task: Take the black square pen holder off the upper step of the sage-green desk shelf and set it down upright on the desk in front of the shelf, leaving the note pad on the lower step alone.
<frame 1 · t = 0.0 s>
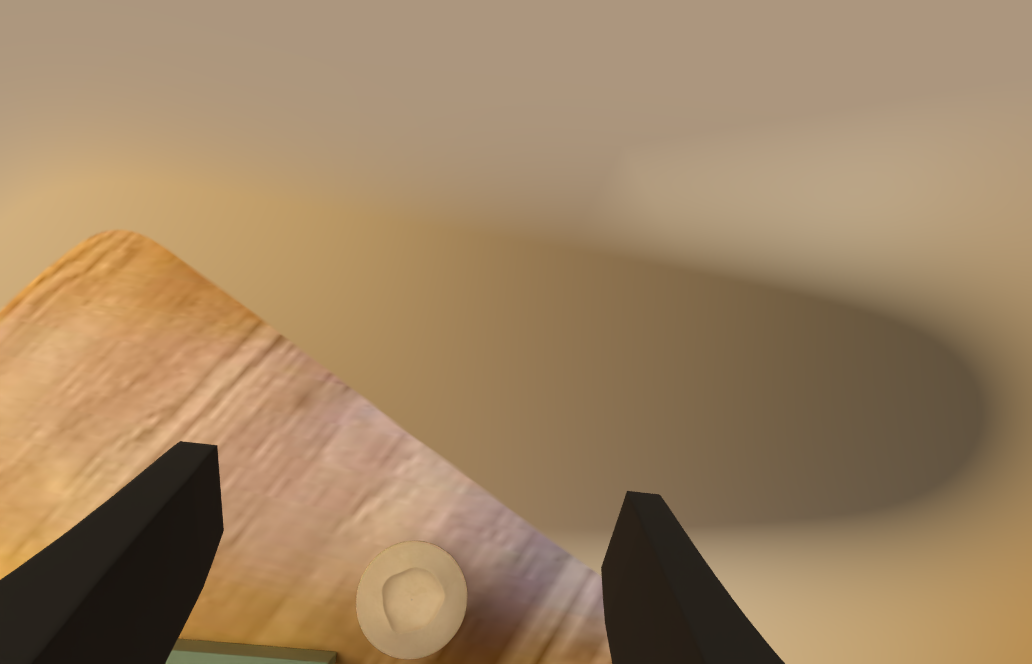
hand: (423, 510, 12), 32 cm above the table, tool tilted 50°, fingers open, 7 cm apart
candle: (413, 589, 41), on the table
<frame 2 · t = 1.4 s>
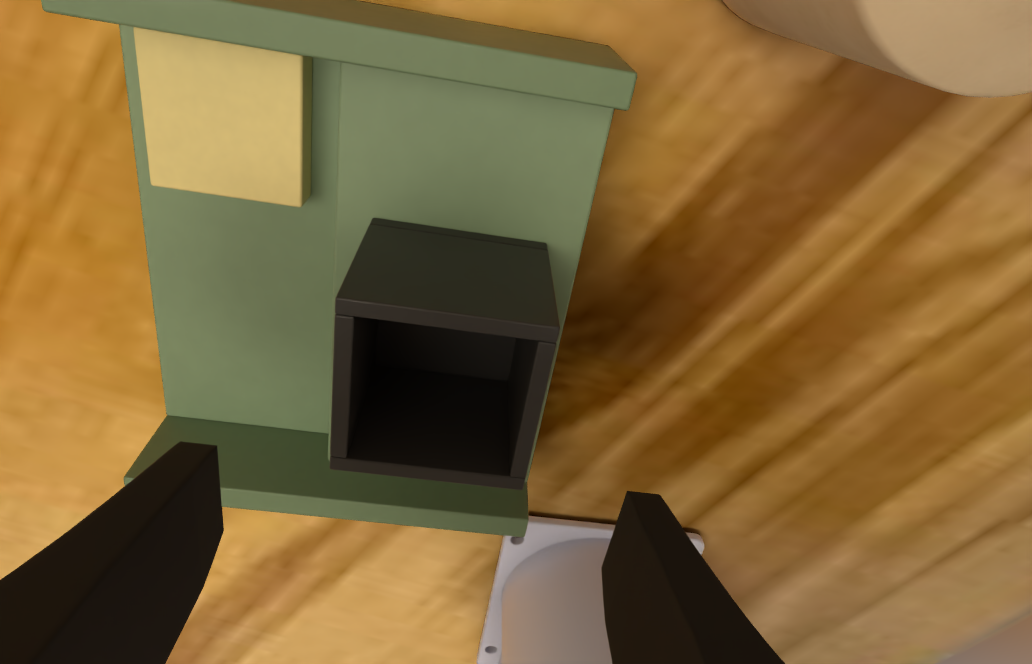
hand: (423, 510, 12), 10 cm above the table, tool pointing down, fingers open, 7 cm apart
note pad: (236, 114, 17), point 1 cm above the table, touching shelf
holder: (450, 306, 19), point 3 cm above the table, touching shelf
shelf: (367, 254, 20), on the table
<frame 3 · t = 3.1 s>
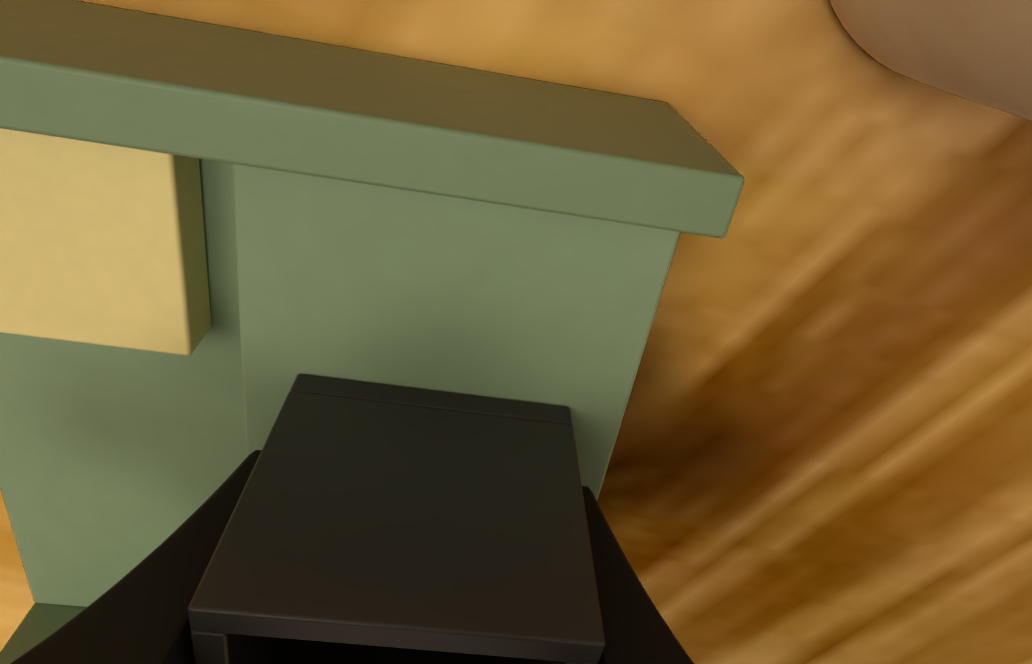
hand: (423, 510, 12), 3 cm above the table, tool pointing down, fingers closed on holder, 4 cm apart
note pad: (85, 212, 11), point 1 cm above the table, touching shelf
holder: (423, 489, 12), point 3 cm above the table, touching gripper, shelf
shelf: (309, 389, 14), on the table
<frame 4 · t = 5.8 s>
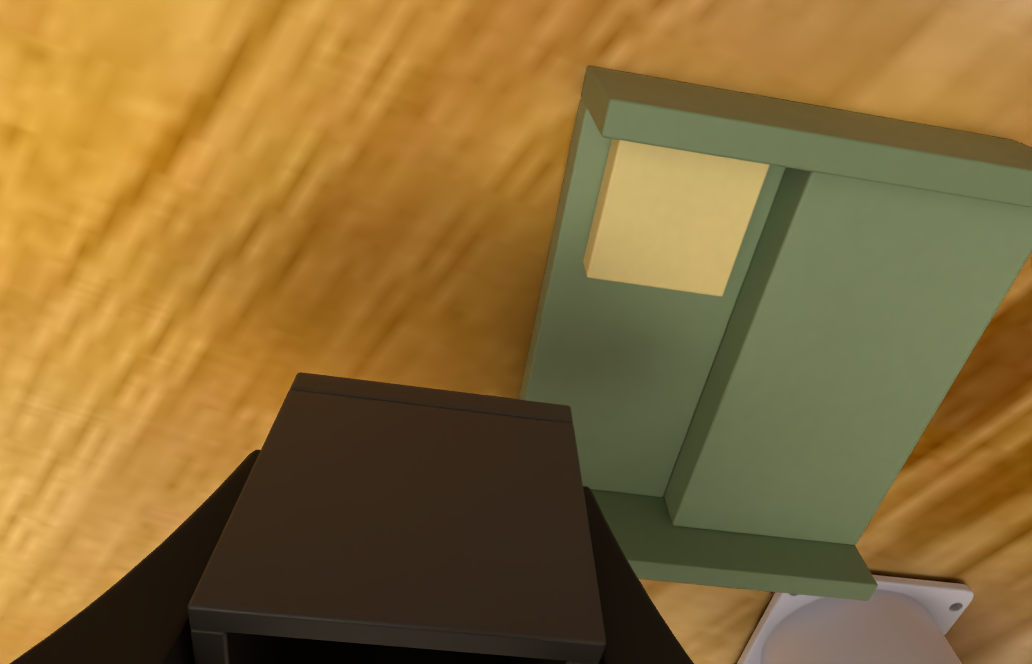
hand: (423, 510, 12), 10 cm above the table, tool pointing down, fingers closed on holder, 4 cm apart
note pad: (666, 208, 18), point 1 cm above the table, touching shelf
holder: (424, 488, 12), point 9 cm above the table, touching gripper
shelf: (723, 328, 21), on the table
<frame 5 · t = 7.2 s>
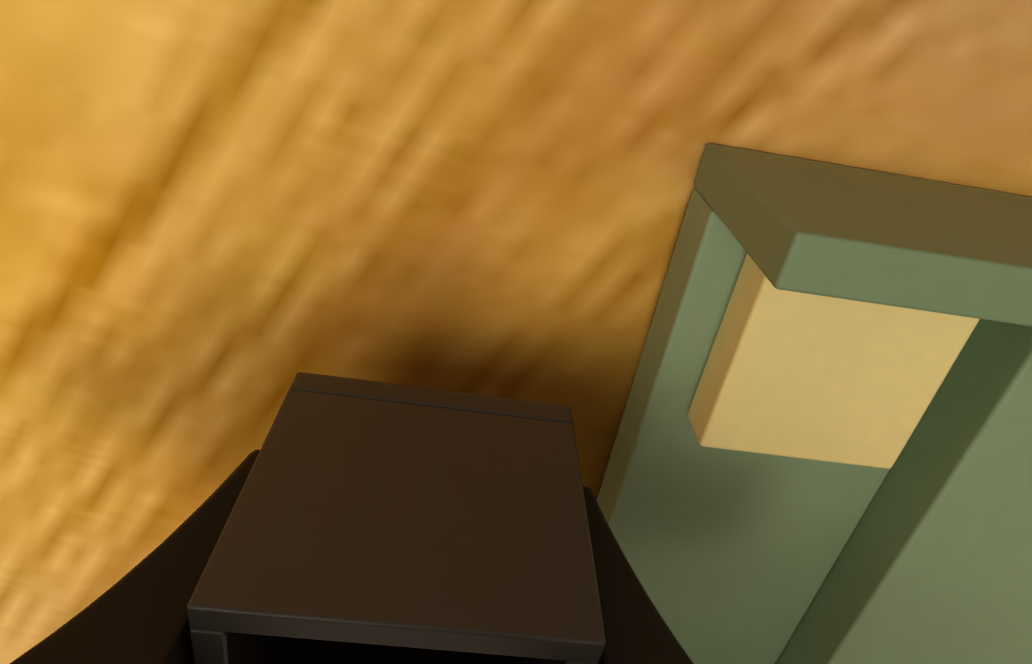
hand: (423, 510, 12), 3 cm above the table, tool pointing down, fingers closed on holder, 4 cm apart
note pad: (814, 345, 12), point 1 cm above the table, touching shelf
holder: (423, 488, 12), point 2 cm above the table, touching gripper
shelf: (858, 477, 16), on the table
when the fingers open (0 cm above the table, at t = 8.5 s): holder stays where it is, on the table.
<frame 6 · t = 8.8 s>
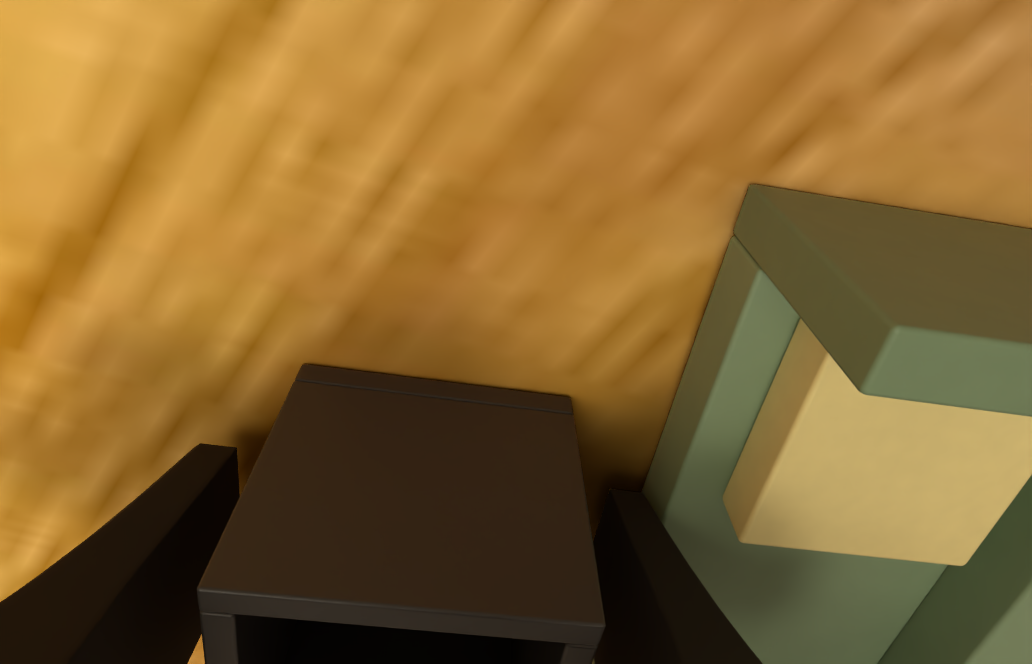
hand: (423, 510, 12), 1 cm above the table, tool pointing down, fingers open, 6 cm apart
note pad: (875, 421, 10), point 1 cm above the table, touching shelf
holder: (426, 479, 12), on the table
shelf: (910, 553, 14), on the table
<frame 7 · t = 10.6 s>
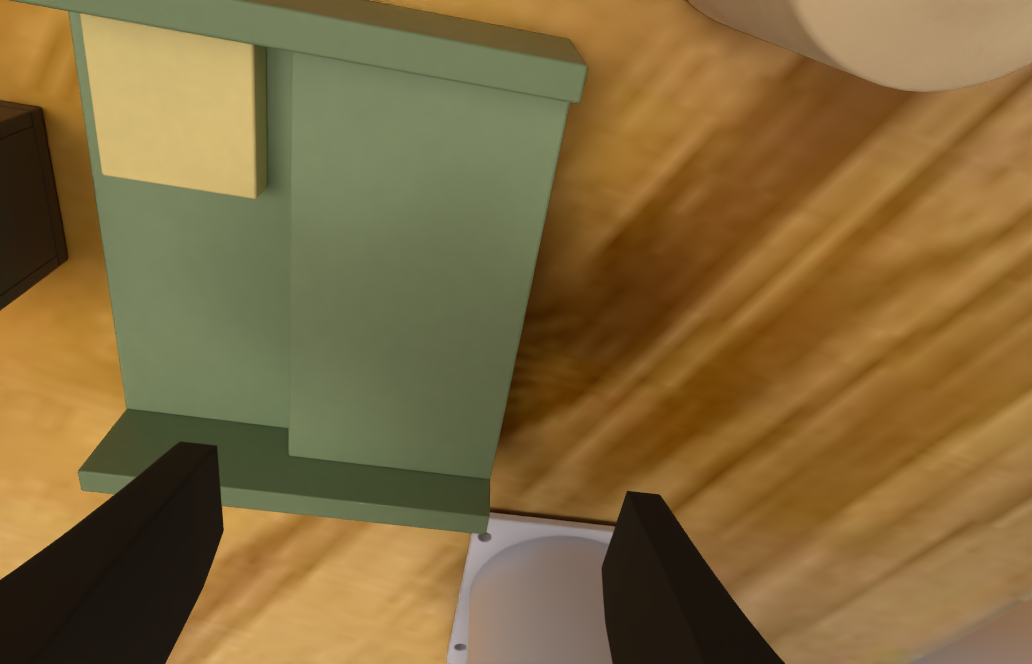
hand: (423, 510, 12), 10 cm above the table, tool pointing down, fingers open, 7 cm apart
note pad: (190, 103, 17), point 1 cm above the table, touching shelf
shelf: (328, 247, 20), on the table
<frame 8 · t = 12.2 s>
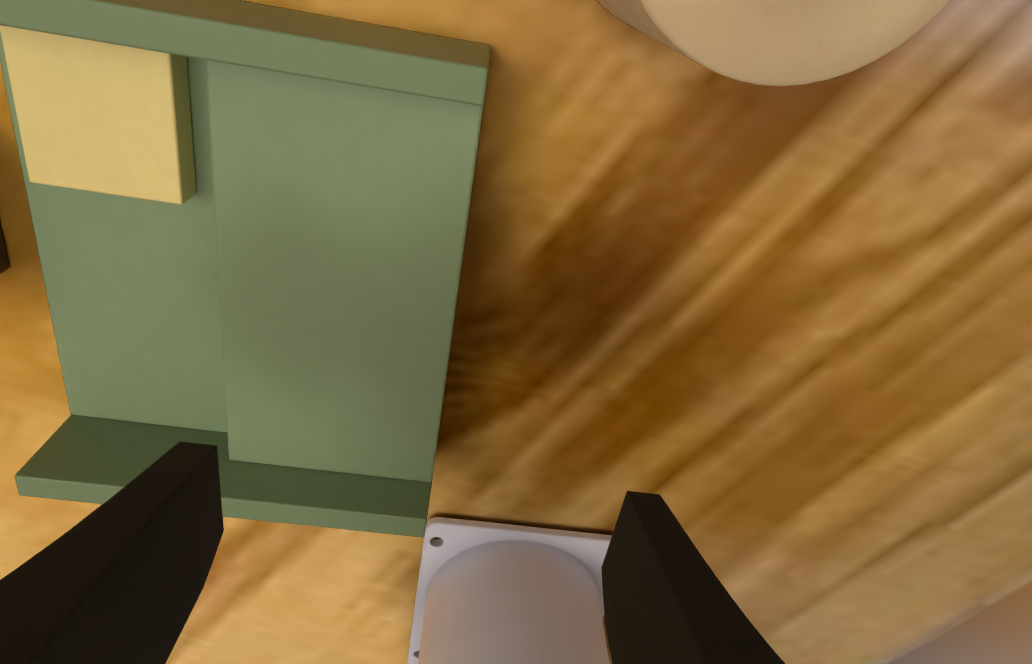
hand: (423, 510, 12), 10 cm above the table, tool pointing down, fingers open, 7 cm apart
note pad: (116, 111, 17), point 1 cm above the table, touching shelf
shelf: (265, 253, 21), on the table
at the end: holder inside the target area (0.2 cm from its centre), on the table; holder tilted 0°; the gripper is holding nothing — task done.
